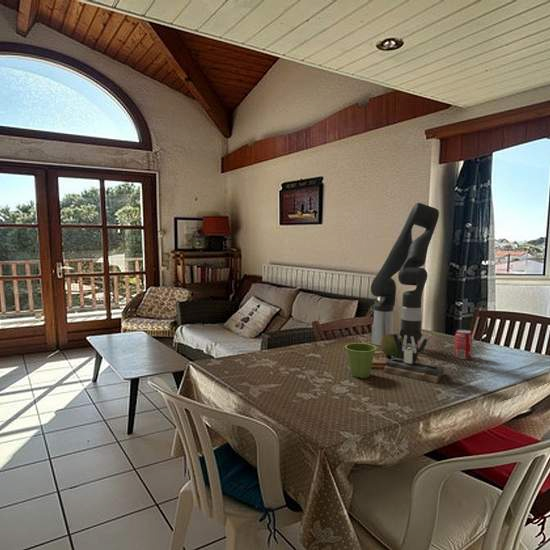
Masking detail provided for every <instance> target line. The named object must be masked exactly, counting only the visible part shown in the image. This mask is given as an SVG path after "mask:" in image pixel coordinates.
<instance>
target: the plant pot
mask: <svg viewBox="0 0 550 550" xmlns="http://www.w3.org/2000/svg"><path fill="white" fill-rule="evenodd" d="M344 348H345V349H346V354H347V357H348V363H349V369H350V370H349V371H350V375H351V376H352V377H354V378H360V379H364V378H365V379H367V378H369V377H370V375H371V372H372V366H373V359H374V356H375V353H376V352H375V351H376V350H377V345H375V344H372V343H371V344H370V343H366V342H365V343H362V342H354V343H349V344H346V345H345V346H344Z"/></svg>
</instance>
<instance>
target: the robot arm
mask: <svg viewBox="0 0 550 550" xmlns="http://www.w3.org/2000/svg"><path fill="white" fill-rule="evenodd" d="M439 216H440V212H439V210H438V209H437V208H435V207H432V206H430V205H427V204H425V203H422V202H417V203H415V204H414V205H413V207H412V209H411V210H410V213H409V214H408V216H407V219H406V221H405V223H404V226H403V227H402V230H401V232H400V234H399V235H398V238H397V239H396V241H395V243H394V244H393V246H392V248H391V249H390V251H389V254H388V256H387V258H386V260H385V261H384V263H383V265H382V266H381V268H380V270H379V271H378V272H377V274H376V275H375V276H374V278H373V280H372V282H371V285H370V293H371V294H372V296H374V297H378V298H380V300H379V301H377V302H376V303H374V305H373V324H372V325H371V345H374V346H379V347H380V342H381V339H382V338H383V337H384V336H385V335H387V334H394V335H393V337H394V339H395V342H396V345H397V347H398V349H401V350H402V356H401V359H403V360H404V350H405V349H406V348H408V346H409V344H410V345H411V347H413V352H414V353H413V362H416V361H417V362H418V359H419V358H418V357H419V353H422V352H423V351H424V350H425V347H426V346H427V344H428V342H429V338H428V337H425V336H423V334H422V318H423V316H422V315H423V314H422V297H423V291H424V288H425V285H426V283H427V280H428V271H427V269H425V268H424V267H423V266H424V265H425V263H426V261H427V255H428V249H429V245H430V243H431V240H432V237H433V235H434V232H435V229H436V226H437V223H438V221H439ZM414 225H415V226H418V227H420V228H422V229H425V231H424V232H423V233H422V234H421V235H420V236H418V237H417V238H415V239H414V240H413V235H412V232H413V231H412V230H413V227H414ZM397 273H398V276H397V279H398V282H399V283H400V284H401V285H405V286H416V288H415V289H413V290H406V291H404V292H403V293H402V302H401V303H402V305H401V312H400V313H401V317H400V331H399V332H398V333H393V326H394V307H395V305H396V294H397V286H396V281H395V280H394V279H393V278H392V277H393V276H395V275H396V274H397ZM400 337H401V338H402V339H403V346H402V343H401V340H400ZM419 341H420V342H421V343H420V346H419Z"/></svg>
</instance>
